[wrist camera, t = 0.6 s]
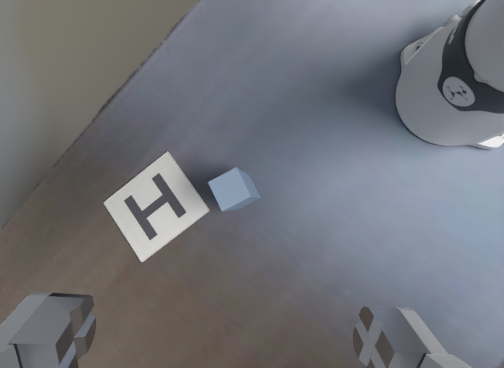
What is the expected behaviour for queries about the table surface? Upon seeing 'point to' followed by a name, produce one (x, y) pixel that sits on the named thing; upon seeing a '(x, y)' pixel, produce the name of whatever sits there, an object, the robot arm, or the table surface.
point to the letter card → (156, 206)
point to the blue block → (234, 190)
